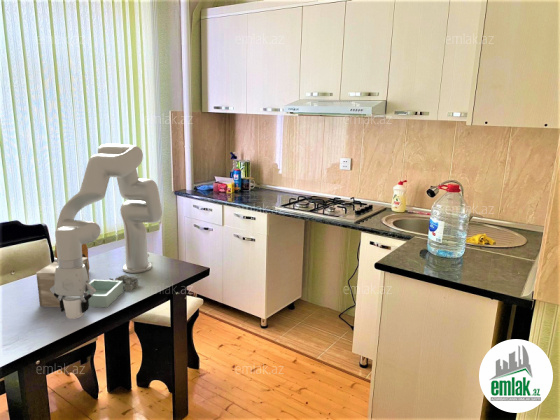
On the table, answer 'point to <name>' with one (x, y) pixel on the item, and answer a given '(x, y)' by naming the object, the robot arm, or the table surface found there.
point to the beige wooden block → (51, 284)
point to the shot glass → (73, 306)
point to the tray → (105, 292)
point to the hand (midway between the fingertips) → (74, 310)
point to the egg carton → (128, 282)
